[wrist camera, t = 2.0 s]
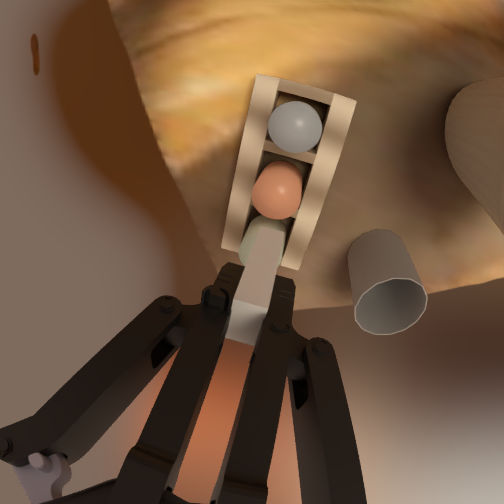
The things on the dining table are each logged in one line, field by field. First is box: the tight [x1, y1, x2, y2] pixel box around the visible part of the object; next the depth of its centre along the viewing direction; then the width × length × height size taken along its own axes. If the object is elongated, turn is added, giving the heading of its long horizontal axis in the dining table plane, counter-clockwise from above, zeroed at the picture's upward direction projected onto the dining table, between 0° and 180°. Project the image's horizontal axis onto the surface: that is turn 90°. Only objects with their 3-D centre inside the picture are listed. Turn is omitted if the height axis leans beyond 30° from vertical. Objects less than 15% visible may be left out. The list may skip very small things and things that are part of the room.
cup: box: [347, 229, 428, 335], centre depth 30 cm, size 8×8×10 cm
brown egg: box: [252, 160, 302, 219], centre depth 26 cm, size 4×4×5 cm
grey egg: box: [268, 101, 322, 153], centre depth 23 cm, size 4×4×5 cm
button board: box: [221, 74, 357, 270], centre depth 29 cm, size 21×10×3 cm, turn 168°
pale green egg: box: [238, 215, 286, 267], centre depth 30 cm, size 4×4×5 cm
